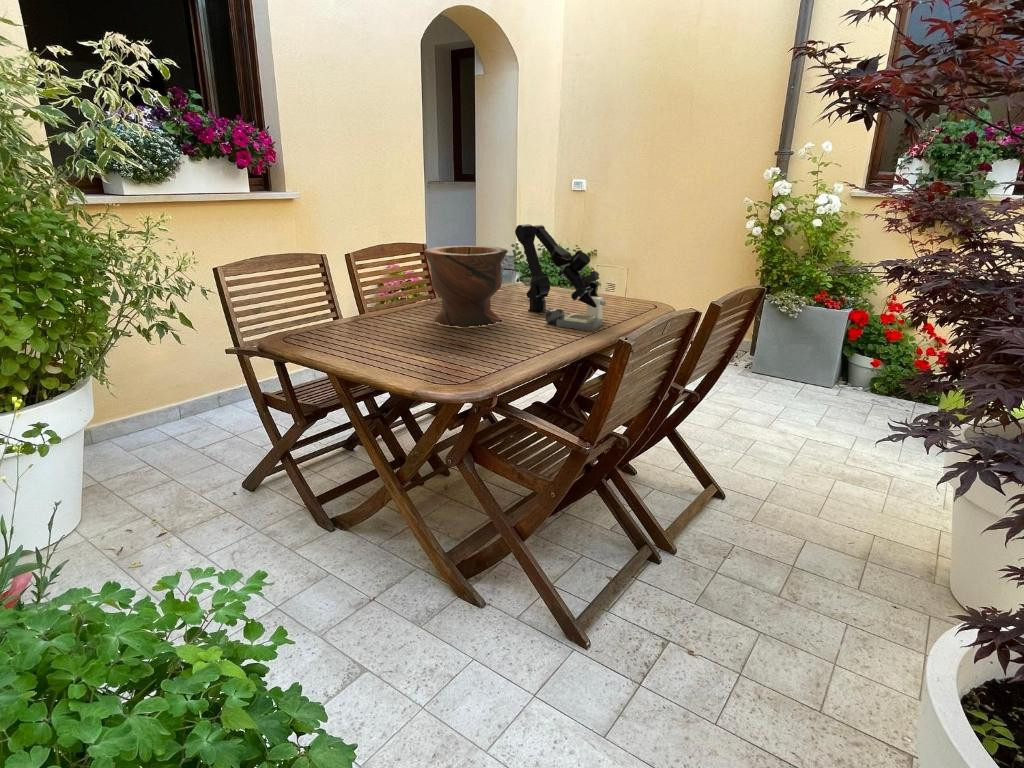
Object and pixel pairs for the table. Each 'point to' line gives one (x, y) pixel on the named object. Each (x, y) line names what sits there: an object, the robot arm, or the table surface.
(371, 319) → the table surface
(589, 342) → the table surface
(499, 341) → the table surface
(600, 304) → the cream block
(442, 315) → the wooden planter
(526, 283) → the mechanical component
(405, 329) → the table surface
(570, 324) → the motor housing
